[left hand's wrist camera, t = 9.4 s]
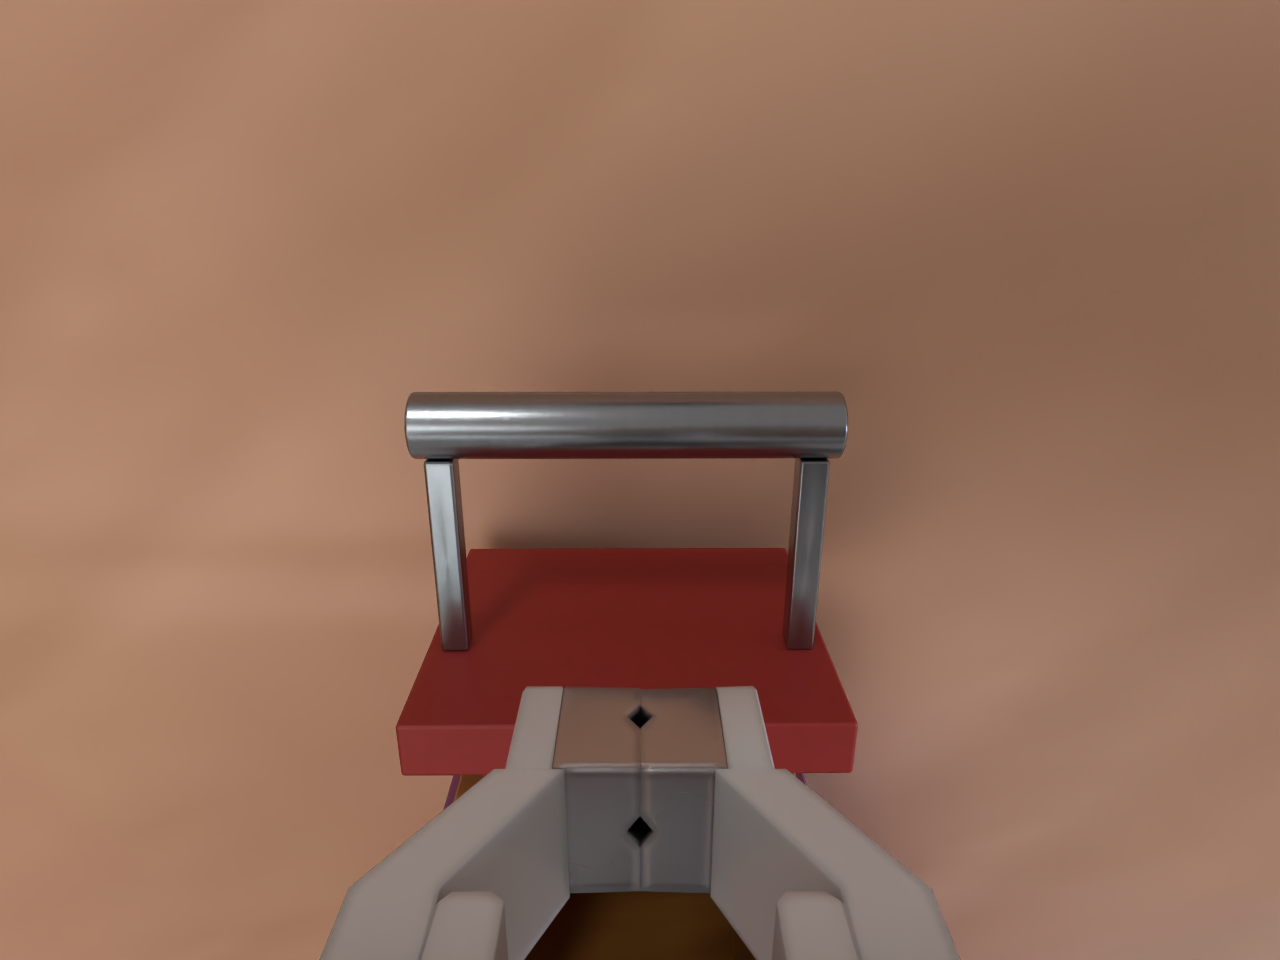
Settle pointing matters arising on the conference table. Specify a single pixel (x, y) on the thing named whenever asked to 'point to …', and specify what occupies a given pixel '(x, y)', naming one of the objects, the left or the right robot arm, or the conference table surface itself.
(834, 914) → the left robot arm
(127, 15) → the conference table surface
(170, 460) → the conference table surface
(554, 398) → the drawer
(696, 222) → the conference table surface
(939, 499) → the conference table surface
